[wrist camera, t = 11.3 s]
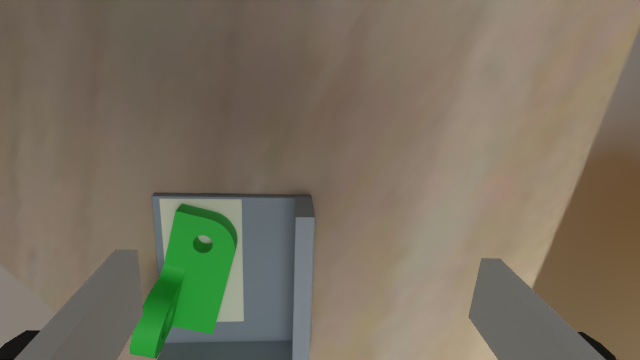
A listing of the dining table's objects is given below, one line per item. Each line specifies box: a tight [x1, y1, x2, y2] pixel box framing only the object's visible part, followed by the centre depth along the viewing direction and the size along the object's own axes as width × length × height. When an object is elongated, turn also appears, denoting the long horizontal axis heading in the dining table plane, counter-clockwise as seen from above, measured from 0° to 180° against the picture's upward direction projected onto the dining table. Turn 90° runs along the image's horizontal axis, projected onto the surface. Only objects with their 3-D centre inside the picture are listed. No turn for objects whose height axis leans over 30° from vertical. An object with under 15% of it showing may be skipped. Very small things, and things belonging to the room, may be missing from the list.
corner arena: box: [152, 194, 315, 360], centre depth 36 cm, size 18×15×6 cm
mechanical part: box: [130, 204, 238, 358], centre depth 33 cm, size 12×6×8 cm, turn 163°
